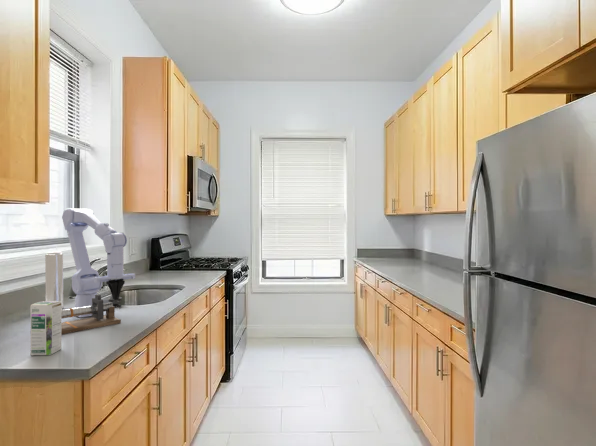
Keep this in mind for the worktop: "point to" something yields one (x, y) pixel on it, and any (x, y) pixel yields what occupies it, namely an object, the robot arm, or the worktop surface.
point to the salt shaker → (115, 301)
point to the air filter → (54, 277)
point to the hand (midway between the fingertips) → (115, 299)
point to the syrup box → (45, 328)
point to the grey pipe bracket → (100, 307)
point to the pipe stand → (87, 322)
